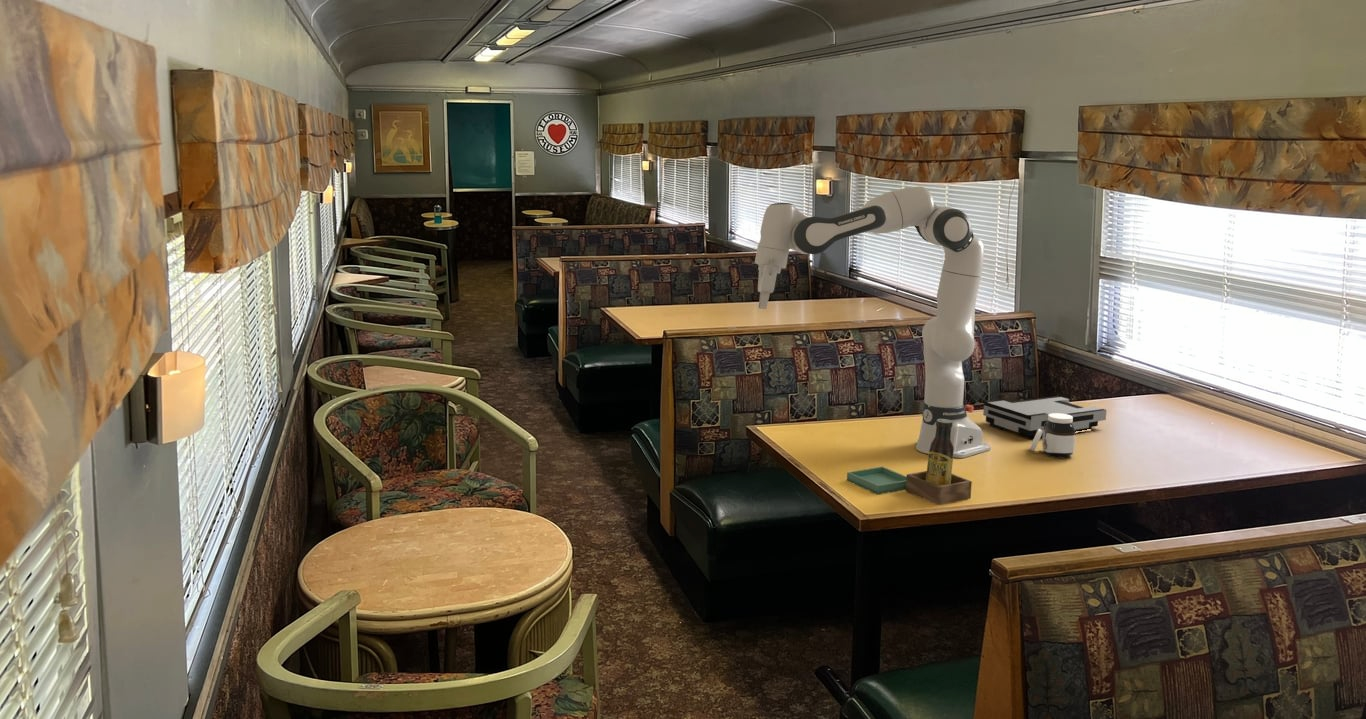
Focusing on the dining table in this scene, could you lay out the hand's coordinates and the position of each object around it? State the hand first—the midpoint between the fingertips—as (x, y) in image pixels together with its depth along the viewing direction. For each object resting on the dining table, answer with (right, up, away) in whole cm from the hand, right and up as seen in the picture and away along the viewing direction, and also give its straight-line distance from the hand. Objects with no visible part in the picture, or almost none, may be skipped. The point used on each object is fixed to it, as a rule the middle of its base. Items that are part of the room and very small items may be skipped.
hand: (762, 308), depth 300 cm
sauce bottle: (+44, -49, -23) cm, 70 cm away
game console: (+94, -37, +45) cm, 110 cm away
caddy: (+44, -49, -23) cm, 70 cm away
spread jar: (+86, -42, +16) cm, 97 cm away
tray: (+30, -47, -15) cm, 58 cm away
